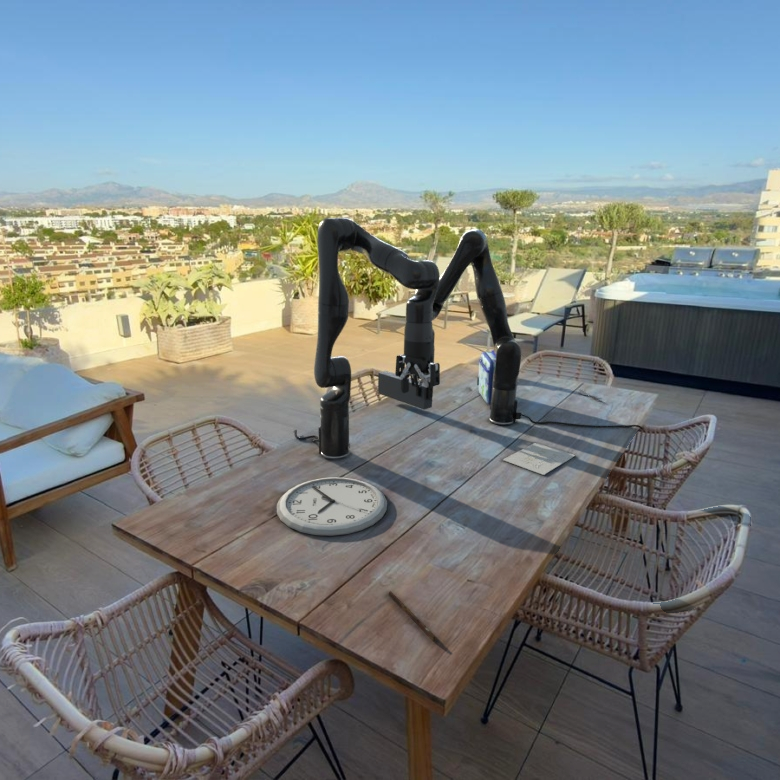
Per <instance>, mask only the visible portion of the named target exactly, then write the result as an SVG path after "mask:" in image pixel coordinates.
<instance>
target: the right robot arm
mask: <svg viewBox="0 0 780 780" xmlns="http://www.w3.org/2000/svg"><path fill="white" fill-rule="evenodd" d="M486 235H487V234H485V233H484V232H483V231H482V230H481V229H478V228H473V229H470V230H468V231H466V232H464V233H463V234H462V236H461V237H460V239H459V243H457V247H456V249H455V251H454V254H453V255H452V257H451V259H450V261H449V262H448V264H447V265H446V266H445V269H444V270H443V271H442V273H441V274H440V280H439V285H438V289H437V293H436V297H435V300H434V303H433V313H432V322H433V321H435V319H437V318H438V317H439V315H440V313H441V311H442V309H443V307H444V305H445V303H446V301H447V300H448V299H449V297H450V295H451V294H452V293H453V292H454V290H455V288H456V287H457V284H458V283H459V281H460V280H461V277H462V276H463V273H464V272H465V271H466V269H467V268H468V267H469V266H470V264H471V267H472V271H473V278H474V287H475V295H476V298H477V300H478V304H479V307H480V310H481V312H482V315H483V317H484V320H485V322H486V324H487V327H488V328H489V332H490V335H491V340H492V346H493V350H494V352H495V355H496V364H495V371H494V373H493V385H492V398H491V404H490V406H489V411H490V413H489V414H490V415H489V422H490V423H491V424H494V425H497V426H511V425H513V424H516V423H517V420H521V419H522V417H524V418H526V419H528V420H529V421H530V422H531V423H532V424H535V425H544V424H545V425H546V424H554V425H555V424H556V425H562V426H563V425H564V426H573V427H583V428H599V429H600V428H604V429H605V428H607V429H609V428H610V429H611V428H613V429H614V428H639V429H640V430H644V427H642V426H641V425H639V424H626V425H625V424H619V425H618V424H617V425H599V424H598V425H595V424H582V423H581V424H580V423H579V424H578V423H569V422H561V421H554V420H553V421H552V420H549V421H548V420H545V421H535V420H533V419H532V418H531V417H530V416H528V415H526V414H523V413H522V411H520V410H519V409H518V399H517V388H518V378H519V375H520V369H521V361H522V349H521V346H520V345H519V344H518V342H517V341H516V339H515V337H514V335H513V333H512V330H511V327H510V324H509V320H508V311H507V310H508V309H507V304H506V300H505V296H504V293H503V290H502V286H501V283H500V281H499V278H498V276H497V273H496V270H495V268H494V265H493V262H492V258H491V253H490V248H489V241H488V238H487V236H486ZM435 333H436V332H435V330H434V329H433V336H432V355H431V357H430V362H431V363H434V364H435V350H436V349H435V337H436V336H435ZM429 369H430V368H429ZM425 375H427V374H425ZM409 378H411V383H412V386H413V387H416V396H418V397H421V386H422V383H423V380H421V379H420V376H416V375H412V374H411V375H410V376H409ZM427 380H428V379H427ZM414 382H415V383H414ZM419 382H420V383H419ZM428 382H429V381H428ZM418 383H419V385H418Z"/></svg>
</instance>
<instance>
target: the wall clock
mask: <svg viewBox="0 0 780 780" xmlns="http://www.w3.org/2000/svg"><path fill="white" fill-rule="evenodd" d="M387 509H388V500H387V498H386V496H385V494H384V493H383V492H382V491H381V490H380V489H379V488H377V487H376V486H374V485H372V484H371V483H369V482H365V481H362V480H359V479H355V478H349V477H338V476H337V477H335V476H333V477H332V476H331V477H322V478H317V479H312V480H307V481H305V482H302V483H299V484H297V485H295V486H293V487H292V488H290V489H288V490H287V491H286V492H285V493H284V494H283V495H281V496H280V498H279V499H278V502H277V503H276V515H277V517H278V518H279V520H280V521H281V522H282V523H283V524H285V525H286V526H287V527H288V528H290V529H293V530H295V531H297V532H299V533H303V534H308V535H312V536H327V537H328V536H329V537H331V536H332V537H333V536H342V535H350V534H352V533H356V532H361V531H363V530H366V529H368V528H369V527H372V526H373V525H375V524H376V523H378V522H379V521H380V520H381V519H382V518H383V517H384V516H385V514H386V512H387Z"/></svg>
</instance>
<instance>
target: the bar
mask: <svg viewBox="0 0 780 780" xmlns="http://www.w3.org/2000/svg"><path fill="white" fill-rule="evenodd" d="M377 376H378V377H377V394H378V395H382V396H384V397H387V398H390V399H392V400H394V401H395V400H396V401H398V402H401V403H404V404H406V405H410V406H412V407H415V408H418V409H421V410H428V409H431V408H433V397H432V398H431V399H430V400H424V392H425V387H426V386H425V384H424V382H423V383H422V386H421V397H418V396H416V387H413V386H412V383H411V377H409V378H408V379H409V391H408V392H406V393H402V390H401V379H400V377H399V376H396V375H395V372H391V371H388V370H385V371H380V372H378V375H377ZM414 383H415V382H414ZM419 383H420V382H419ZM419 383H418V385H419Z"/></svg>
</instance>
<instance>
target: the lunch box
mask: <svg viewBox="0 0 780 780" xmlns="http://www.w3.org/2000/svg"><path fill="white" fill-rule="evenodd" d="M495 364H496V355H495V352H494V349H491V351H482V352H481V354H480V358H479V360H478V377H477V381H476V384H477V385H476V386H478V393H479V395H480V396H481V397H482V399H483V400H484V402H485V404H487V405H488V406H489V405H490V406H491V398H492V385H493V373H494V371H495Z"/></svg>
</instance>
